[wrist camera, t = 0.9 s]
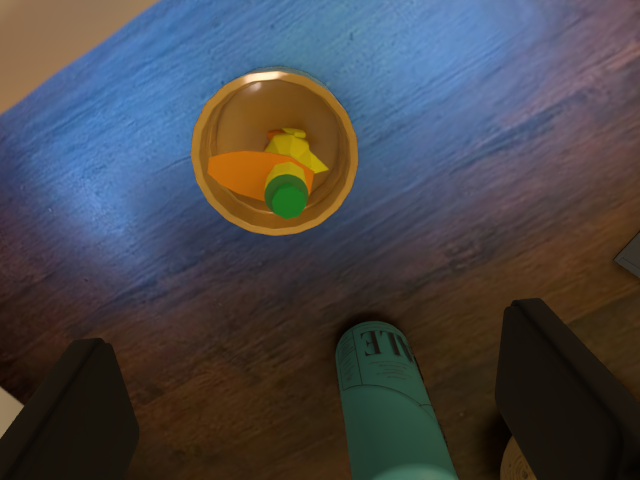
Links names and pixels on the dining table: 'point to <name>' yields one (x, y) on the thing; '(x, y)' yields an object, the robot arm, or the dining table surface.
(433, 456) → the beverage bottle
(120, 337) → the dining table surface
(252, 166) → the toy figure
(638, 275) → the grey bin
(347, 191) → the mustard bowl
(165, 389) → the dining table surface
